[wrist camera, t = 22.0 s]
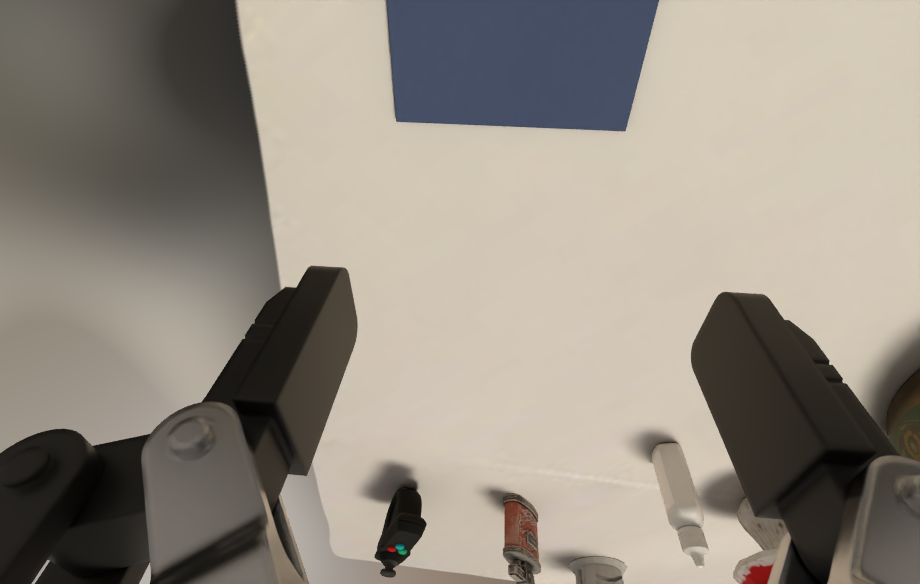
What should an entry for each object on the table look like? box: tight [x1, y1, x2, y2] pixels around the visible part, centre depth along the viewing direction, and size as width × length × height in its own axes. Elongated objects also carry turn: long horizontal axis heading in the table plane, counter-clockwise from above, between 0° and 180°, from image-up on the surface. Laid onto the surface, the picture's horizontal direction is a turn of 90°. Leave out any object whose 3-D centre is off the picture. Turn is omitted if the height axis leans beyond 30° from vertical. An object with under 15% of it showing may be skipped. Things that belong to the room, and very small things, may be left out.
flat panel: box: [387, 0, 659, 131], centre depth 25 cm, size 12×15×1 cm
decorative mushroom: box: [733, 497, 788, 584], centre depth 51 cm, size 14×14×15 cm
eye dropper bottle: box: [652, 443, 709, 568], centre depth 47 cm, size 4×6×12 cm
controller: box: [375, 488, 426, 577], centre depth 60 cm, size 4×12×10 cm, turn 159°
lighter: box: [503, 494, 541, 584], centre depth 60 cm, size 8×3×10 cm, turn 30°
